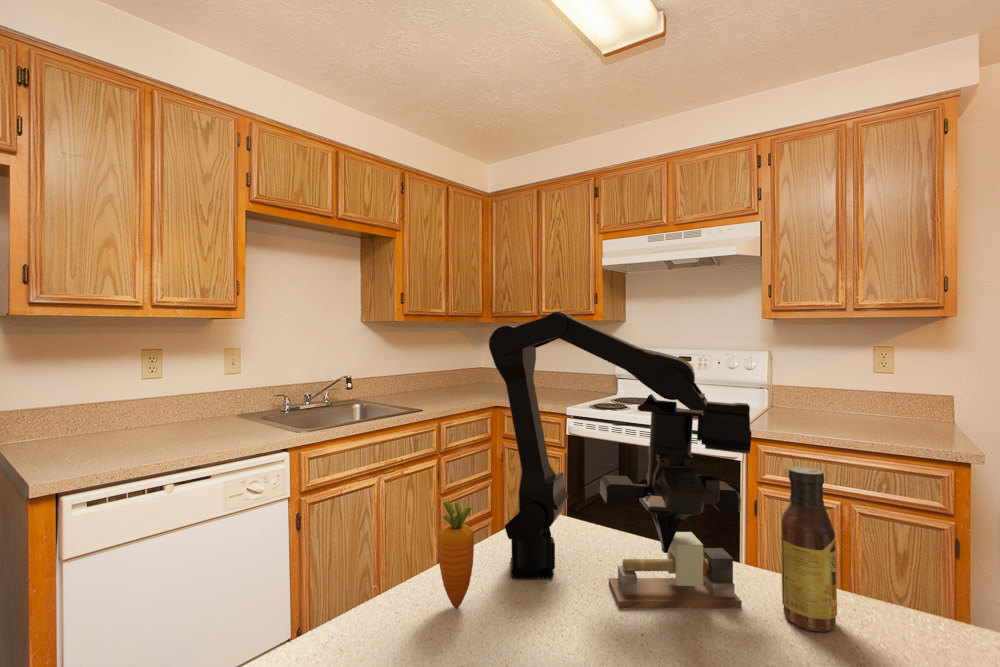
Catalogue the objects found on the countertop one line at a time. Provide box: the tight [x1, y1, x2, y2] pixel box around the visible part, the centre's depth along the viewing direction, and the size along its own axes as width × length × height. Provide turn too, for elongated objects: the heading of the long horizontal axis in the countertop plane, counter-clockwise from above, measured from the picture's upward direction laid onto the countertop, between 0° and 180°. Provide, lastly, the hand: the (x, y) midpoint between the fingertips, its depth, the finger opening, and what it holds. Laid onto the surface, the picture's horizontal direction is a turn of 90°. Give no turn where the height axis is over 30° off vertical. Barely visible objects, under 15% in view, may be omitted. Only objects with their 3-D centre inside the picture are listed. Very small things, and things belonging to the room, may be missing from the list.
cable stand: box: [608, 547, 743, 609], centre depth 73 cm, size 17×6×6 cm, turn 90°
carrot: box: [437, 499, 475, 609], centre depth 70 cm, size 5×5×15 cm
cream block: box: [666, 531, 704, 586], centre depth 73 cm, size 4×4×6 cm
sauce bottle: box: [780, 466, 838, 633], centre depth 66 cm, size 7×6×20 cm
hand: (664, 552), depth 72 cm, fingers closed
